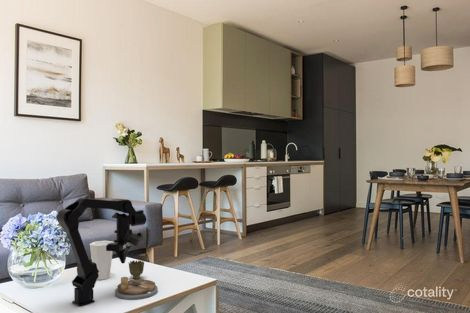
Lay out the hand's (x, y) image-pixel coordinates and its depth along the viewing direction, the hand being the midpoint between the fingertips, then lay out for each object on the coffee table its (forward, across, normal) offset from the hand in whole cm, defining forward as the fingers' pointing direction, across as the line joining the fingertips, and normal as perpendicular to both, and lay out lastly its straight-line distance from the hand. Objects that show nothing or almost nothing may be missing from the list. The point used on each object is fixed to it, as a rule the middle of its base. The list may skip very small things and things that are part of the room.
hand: (123, 263), depth 177 cm
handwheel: (+11, 0, -6) cm, 12 cm away
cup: (+13, +16, +20) cm, 29 cm away
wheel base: (+12, 0, -6) cm, 14 cm away
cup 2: (+13, +19, +3) cm, 23 cm away
